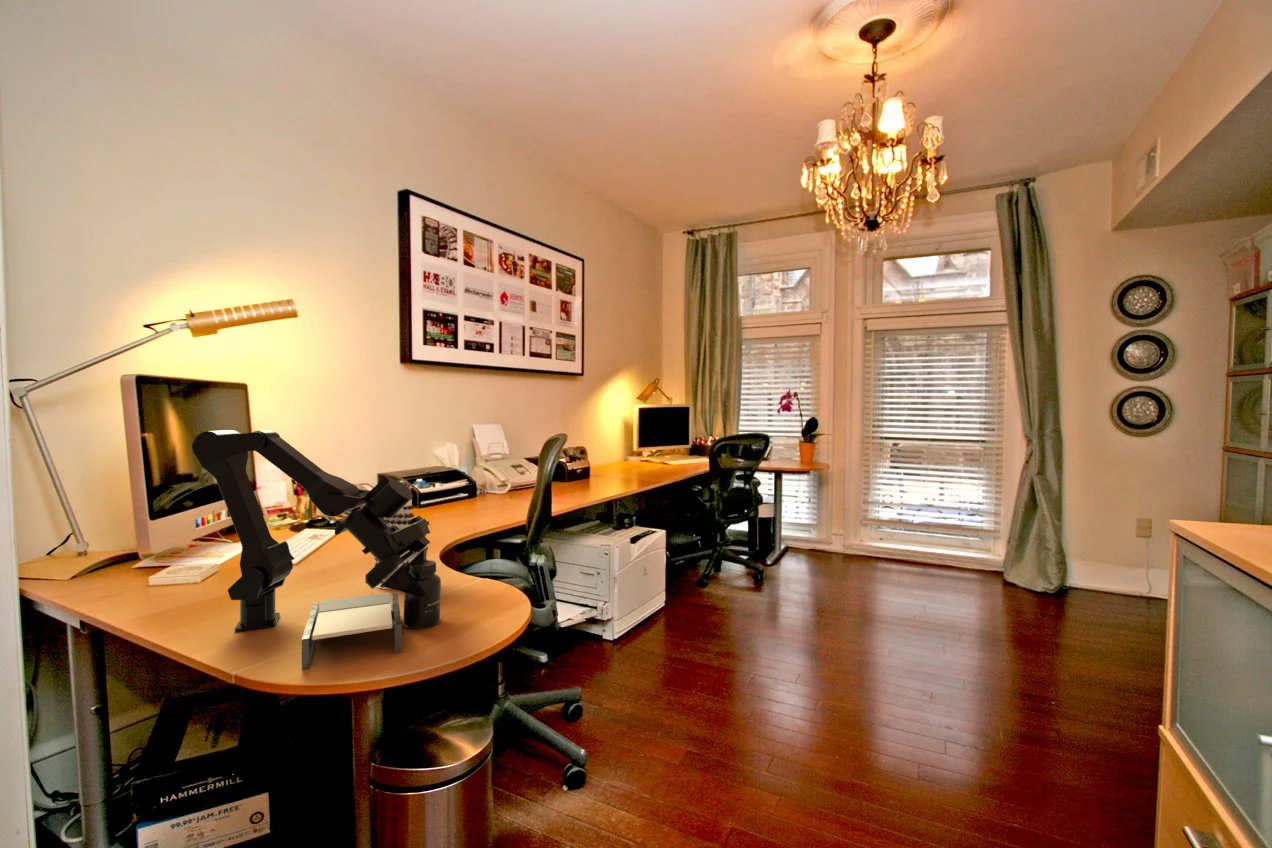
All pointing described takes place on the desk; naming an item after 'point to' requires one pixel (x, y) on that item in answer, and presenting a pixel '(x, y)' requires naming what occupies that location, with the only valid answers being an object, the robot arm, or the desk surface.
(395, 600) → the flap frame
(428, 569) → the supplement bottle
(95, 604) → the desk surface
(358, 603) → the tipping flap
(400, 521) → the decorative candle
